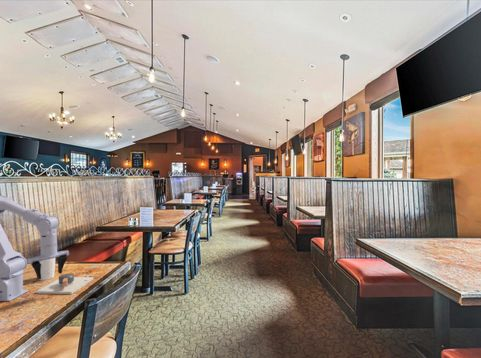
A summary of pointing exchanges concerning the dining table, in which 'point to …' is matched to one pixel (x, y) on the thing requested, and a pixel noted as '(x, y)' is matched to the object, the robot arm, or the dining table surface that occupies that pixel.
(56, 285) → the joystick base
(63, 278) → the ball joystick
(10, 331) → the dining table surface
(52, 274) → the white cup
